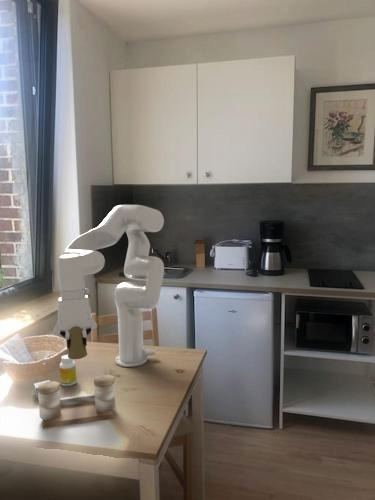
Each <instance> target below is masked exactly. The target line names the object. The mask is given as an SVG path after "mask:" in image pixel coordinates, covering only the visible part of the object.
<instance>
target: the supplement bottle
mask: <svg viewBox="0 0 375 500" xmlns="http://www.w3.org/2000/svg"><path fill="white" fill-rule="evenodd" d="M60 360H61V362H60V363H59V378H60V379H59V380H60V381H59V383H60V386H64V387H69V386H73V385H75V384H76V383H77V369H76V368H77V367H76V365H77V364H76V362H75V361H74V359H70V358H68V354H64V355H62V356H61V357H60Z"/></svg>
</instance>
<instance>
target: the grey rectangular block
mask: <svg viewBox="0 0 375 500" xmlns="http://www.w3.org/2000/svg"><path fill="white" fill-rule="evenodd" d="M49 381H50V380H49V379H48V380H44V381H43V380H42V381H39V382H35V383H33V393H34V394H35V395H34V397H35V398H36V400H39V397H38V386H39V385H40V384H42V383H44V382H49Z"/></svg>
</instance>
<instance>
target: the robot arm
mask: <svg viewBox="0 0 375 500" xmlns="http://www.w3.org/2000/svg"><path fill="white" fill-rule="evenodd" d="M164 223H165V218H164V216H163V214H162V212H161V211H160V210H159V209H155V208H153V207H149V206H146V205H140V204H119V205H116V206H114V207H113V208H112V210H111V211H110V212H109V213H108V214H107V215H106V217H105V218H104V219H103V220H102V222H101V223H100V224H99V225H98V226H97V227H95V228H92V229H90V230H88V231H87V232H85V233H83V234H80V235H79V236H77V237H76V238H75V239H73V240H72V241H71V243H70V244H68V246H67V247H66V248H65V250H64V251H63V253H62V255H61V256H59V257H58V258H57V268H58V269H57V270H58V279H59V281H58V282H59V293H60V297H59V298H58V300H57V322H56V324H55V326H54V328H53V332H54V333H55V334H58V335H60V336H62V337H63V338H64V339H65V340H66V348H67V349H68V348H69V350H70V346H71V340H70V336H69V334H70V333H69V331H68V330H70V329H71V328H72V327H74V326H78V327H80V328H82V329H83V331H82V333H83V338H82V341H83V346H84V344H85V346H86V347H87V337H88V336H89V334H90V333H91V332H92V331H93V330H95V329H96V328H98V324H97V323H96V322H95V320H94V318H93V317H92V311H91V305H90V304H91V303H90V299H89V295H87V294H90V293H91V289H90V288H86V284H85V276H87V275H93V274H97V273H99V272H100V271H102V269H103V268H104V267H105V263H106V260H105V257H104V254H102V253H101V252H100V251H97V250H99V249H105V248H108V247H111V246H113V245H115V244H117V243H118V241H120V239H121V238H122V236H123V234H124V233H126V235H127V238H128V247H127V250H126V251H127V252H126V257H125V261H124V267H123V274H124V276H125V277H126V278H128V279H131V280H136V281H146V283H143V282H141V283H140V282H133V281H123V282H121V283H118V285H116V287H115V289H114V293H113V295H114V302H115V306H116V312H117V327H118V328H117V331H118V335H117V336H118V355H116V357H115V361H114V362H115V364H117V365H118V366H120V367H124V368H126V367H127V368H133V367H138V366H143V365H144V364H145V363H147V362H148V357H149V356H155V355H156V350H155V349H152V348H147V349H146V348H144V327H143V325H144V322H143V319H144V318H143V314H142V312H141V309H144V310H153V309H155V308H156V307H157V306H158V303H159V300H160V296H161V290H162V285H163V279H164V274H165V266H164V265H165V264H164V262H163V260H162V259H161V258H159V257H158V256H154V255H153V256H150V255H149V254H150V250H151V249H150V248H151V244H150V240H149V239H148V237H147V235H146V234H145V233H157V232H159V231H161V230H162V229H163V227H164ZM85 346H84V349H85Z"/></svg>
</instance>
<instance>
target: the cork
mask: <svg viewBox="0 0 375 500" xmlns="http://www.w3.org/2000/svg"><path fill="white" fill-rule="evenodd" d="M68 331H69V333H70V334H69V336H70V340H71V346H70V350H69V348H67V349H68V350H67V355H68V358H70V359H73V360H80V359H83V358H85V357H87V356H88V352H87V351H88V350H87V346H85V344H84V346H85V349H84V346H83V341H82V338H83V333H82V331H83V329H82V328H80V327H78V326H74V327H72V328H71V329H70V330H68Z"/></svg>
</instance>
